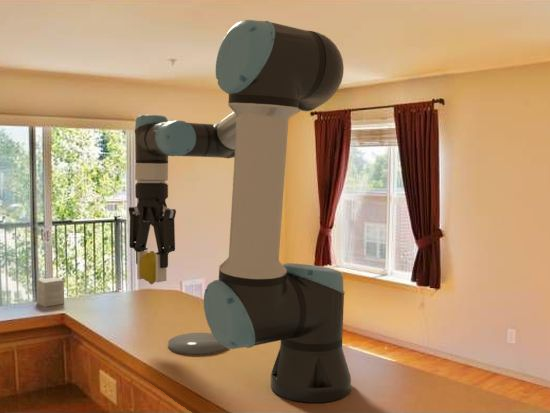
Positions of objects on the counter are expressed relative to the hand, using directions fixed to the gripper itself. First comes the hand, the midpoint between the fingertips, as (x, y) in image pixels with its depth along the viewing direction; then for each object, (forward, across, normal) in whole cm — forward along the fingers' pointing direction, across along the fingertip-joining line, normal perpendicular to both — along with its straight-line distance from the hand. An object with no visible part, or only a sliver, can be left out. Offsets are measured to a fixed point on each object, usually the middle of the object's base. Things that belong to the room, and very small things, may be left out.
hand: (151, 279), depth 133 cm
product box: (+15, +52, -7) cm, 54 cm away
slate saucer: (+15, -12, -4) cm, 19 cm away
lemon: (+1, 0, 0) cm, 1 cm away
